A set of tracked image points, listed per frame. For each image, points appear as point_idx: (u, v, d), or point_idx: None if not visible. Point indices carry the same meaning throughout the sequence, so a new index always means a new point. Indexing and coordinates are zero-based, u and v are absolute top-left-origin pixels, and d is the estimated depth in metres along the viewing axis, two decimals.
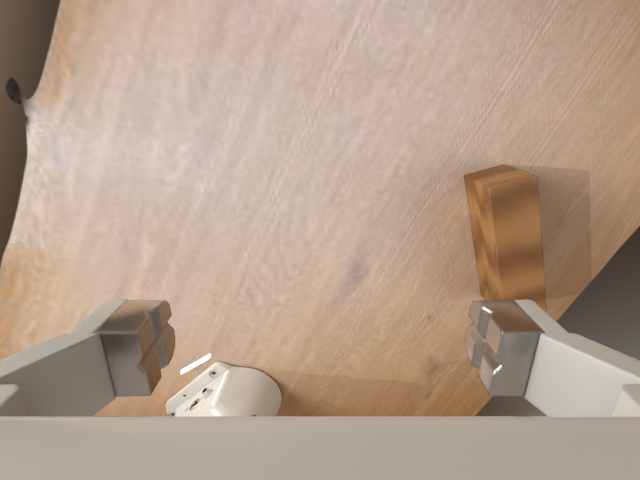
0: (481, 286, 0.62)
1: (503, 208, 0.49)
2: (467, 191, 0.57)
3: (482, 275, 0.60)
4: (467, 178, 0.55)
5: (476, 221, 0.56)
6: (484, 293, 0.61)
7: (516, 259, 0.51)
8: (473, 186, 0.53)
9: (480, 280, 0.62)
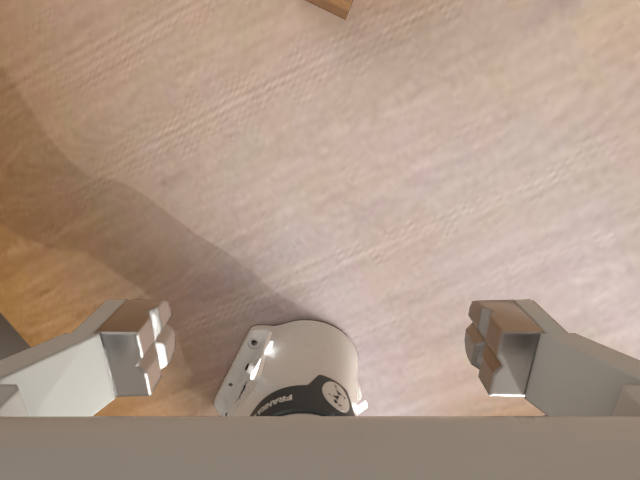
0: None
1: None
2: None
3: None
4: (347, 14, 0.36)
5: None
6: None
7: None
8: None
9: None
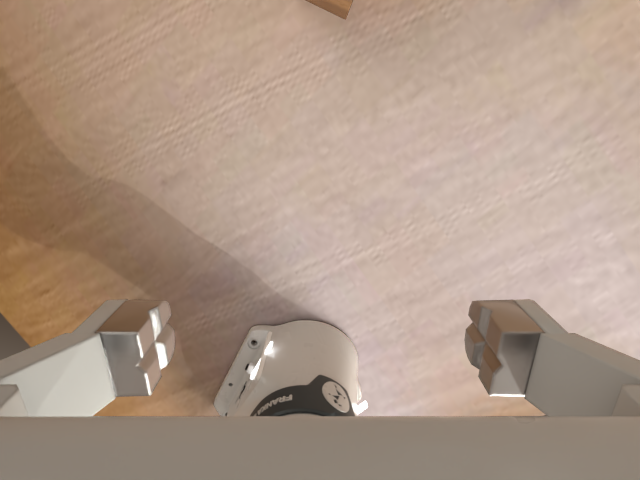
0: None
1: None
2: None
3: None
4: (347, 14, 0.36)
5: None
6: None
7: None
8: None
9: None
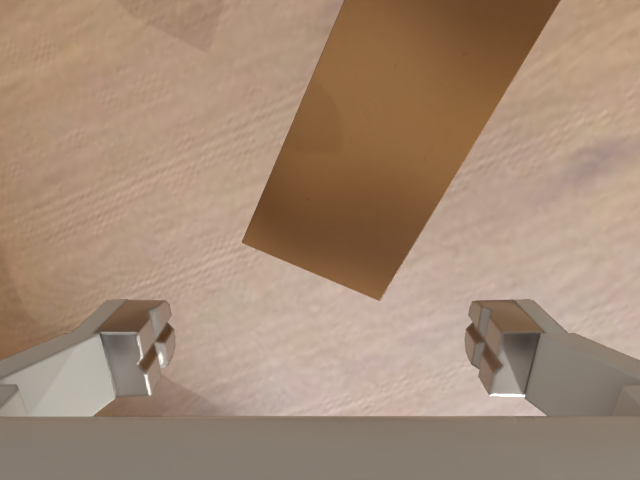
0: None
1: (385, 219, 0.14)
2: None
3: None
4: None
5: None
6: None
7: None
8: None
9: None
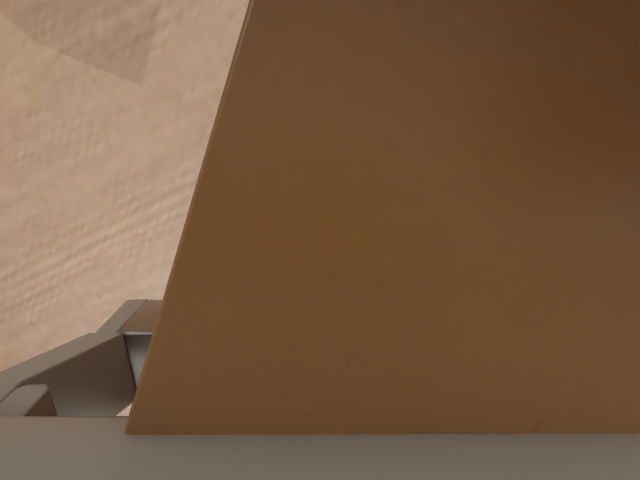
0: None
1: None
2: None
3: None
4: None
5: None
6: None
7: None
8: None
9: None
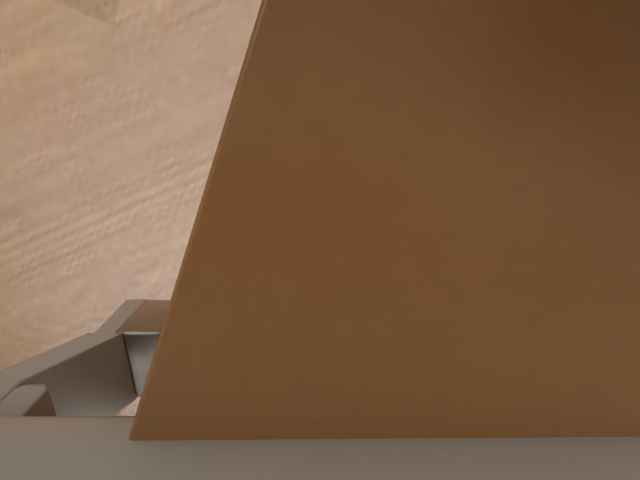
0: None
1: None
2: None
3: None
4: None
5: None
6: None
7: None
8: None
9: None
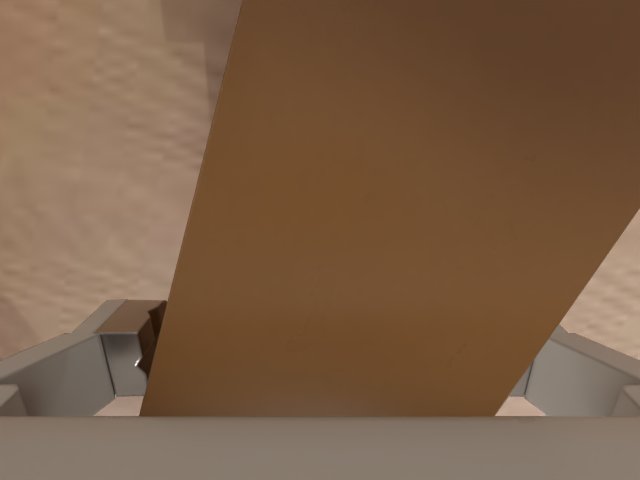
0: None
1: None
2: None
3: None
4: None
5: None
6: None
7: None
8: None
9: None
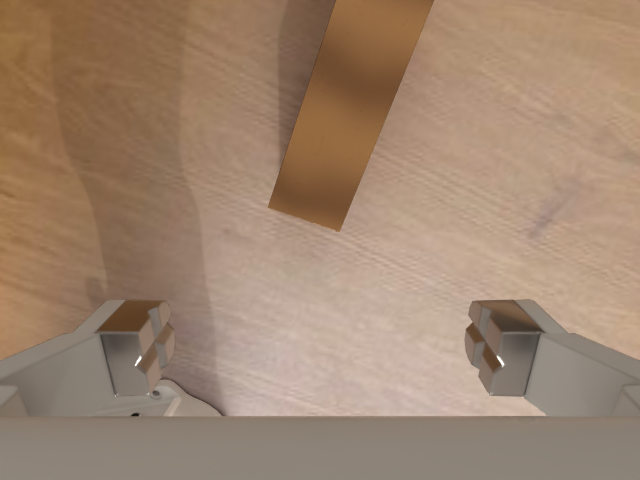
0: None
1: (336, 190, 0.29)
2: None
3: None
4: None
5: None
6: None
7: (362, 82, 0.26)
8: None
9: None
